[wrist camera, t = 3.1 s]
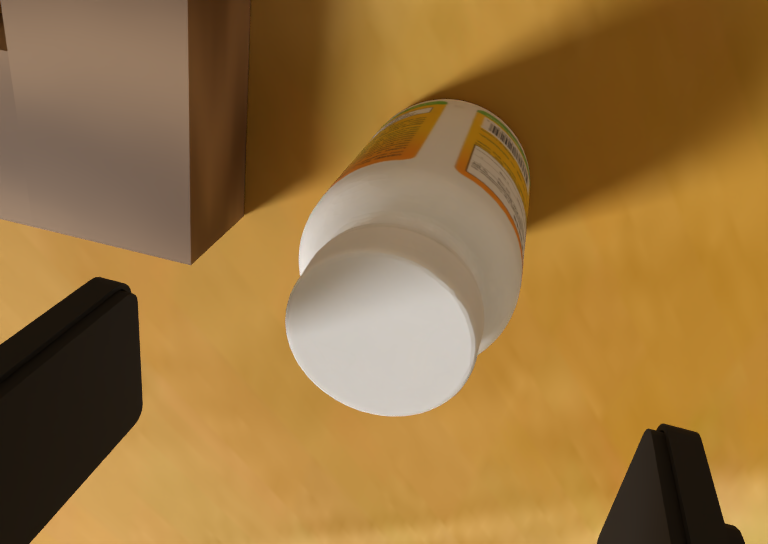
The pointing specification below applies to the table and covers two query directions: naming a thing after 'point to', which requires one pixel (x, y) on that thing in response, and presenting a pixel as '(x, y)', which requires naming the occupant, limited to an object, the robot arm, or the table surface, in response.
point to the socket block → (125, 120)
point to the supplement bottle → (412, 260)
